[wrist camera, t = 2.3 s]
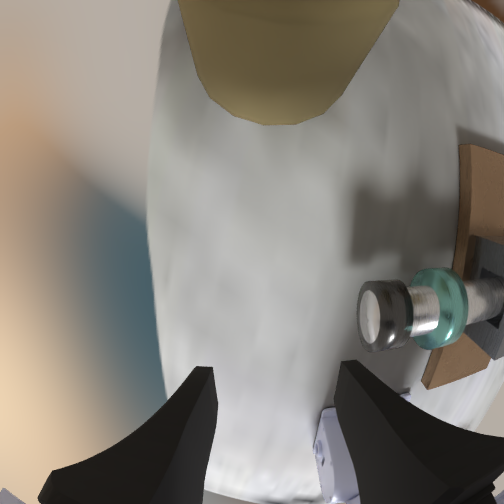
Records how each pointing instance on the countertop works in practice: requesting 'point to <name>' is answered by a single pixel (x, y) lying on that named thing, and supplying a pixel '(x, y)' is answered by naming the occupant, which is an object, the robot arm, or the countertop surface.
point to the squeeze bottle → (281, 52)
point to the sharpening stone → (475, 264)
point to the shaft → (425, 309)
